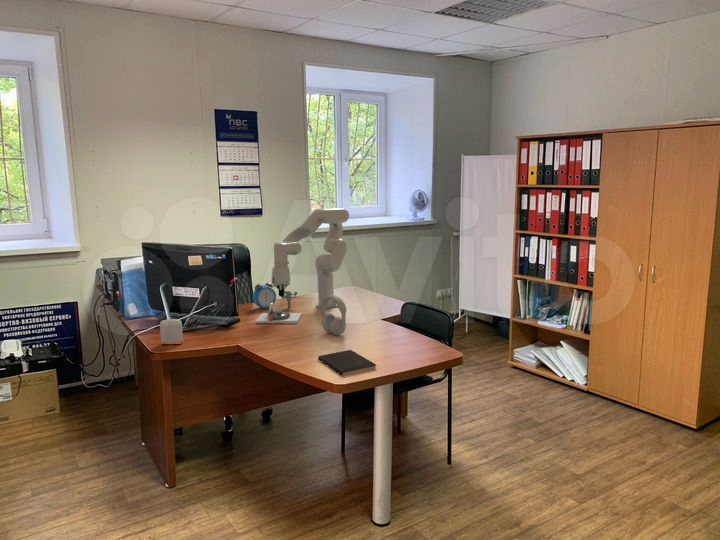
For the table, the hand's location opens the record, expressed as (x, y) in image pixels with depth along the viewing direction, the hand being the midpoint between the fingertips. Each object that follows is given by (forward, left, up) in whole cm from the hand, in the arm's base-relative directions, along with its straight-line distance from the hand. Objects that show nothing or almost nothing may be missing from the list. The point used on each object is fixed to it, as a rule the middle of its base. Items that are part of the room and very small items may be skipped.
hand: (281, 296), depth 315 cm
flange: (+1, +9, -9) cm, 13 cm away
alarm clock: (+14, -17, -11) cm, 25 cm away
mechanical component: (-1, -16, -11) cm, 20 cm away
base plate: (0, +11, -11) cm, 15 cm away
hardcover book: (-42, +83, -12) cm, 94 cm away
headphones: (-33, +40, -11) cm, 53 cm away
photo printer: (+44, +54, -11) cm, 70 cm away
